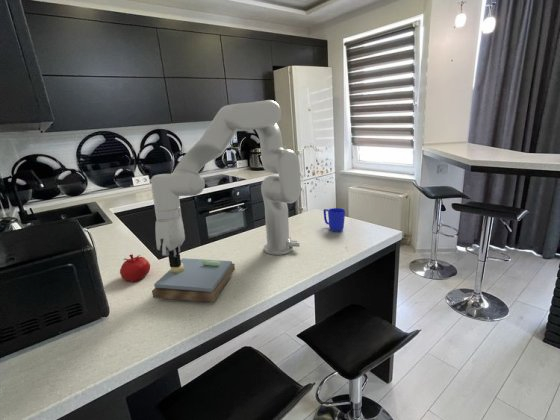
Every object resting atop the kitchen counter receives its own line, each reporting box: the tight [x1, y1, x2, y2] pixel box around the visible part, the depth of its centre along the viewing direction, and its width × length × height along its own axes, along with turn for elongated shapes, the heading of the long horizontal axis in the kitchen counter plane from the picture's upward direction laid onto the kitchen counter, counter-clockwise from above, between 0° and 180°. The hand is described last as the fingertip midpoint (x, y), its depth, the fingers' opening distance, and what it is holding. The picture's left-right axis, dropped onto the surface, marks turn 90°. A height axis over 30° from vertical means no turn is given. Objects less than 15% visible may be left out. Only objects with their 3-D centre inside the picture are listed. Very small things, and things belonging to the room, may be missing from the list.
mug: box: [323, 207, 346, 232], centre depth 144 cm, size 8×12×10 cm
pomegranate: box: [119, 253, 151, 283], centre depth 106 cm, size 10×10×9 cm
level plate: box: [153, 257, 233, 292], centre depth 97 cm, size 19×18×3 cm
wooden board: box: [151, 262, 236, 303], centre depth 98 cm, size 20×20×4 cm
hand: (175, 266), depth 97 cm, fingers closed
